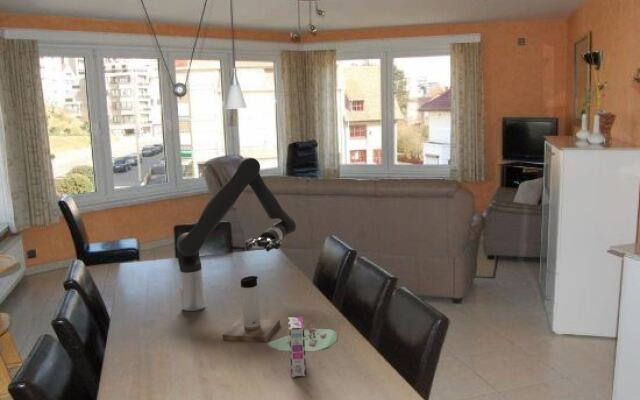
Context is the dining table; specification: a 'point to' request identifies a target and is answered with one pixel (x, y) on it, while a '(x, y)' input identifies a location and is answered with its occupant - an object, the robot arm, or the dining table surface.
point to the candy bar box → (297, 346)
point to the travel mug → (250, 303)
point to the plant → (309, 339)
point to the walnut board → (251, 331)
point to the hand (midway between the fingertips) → (257, 248)
